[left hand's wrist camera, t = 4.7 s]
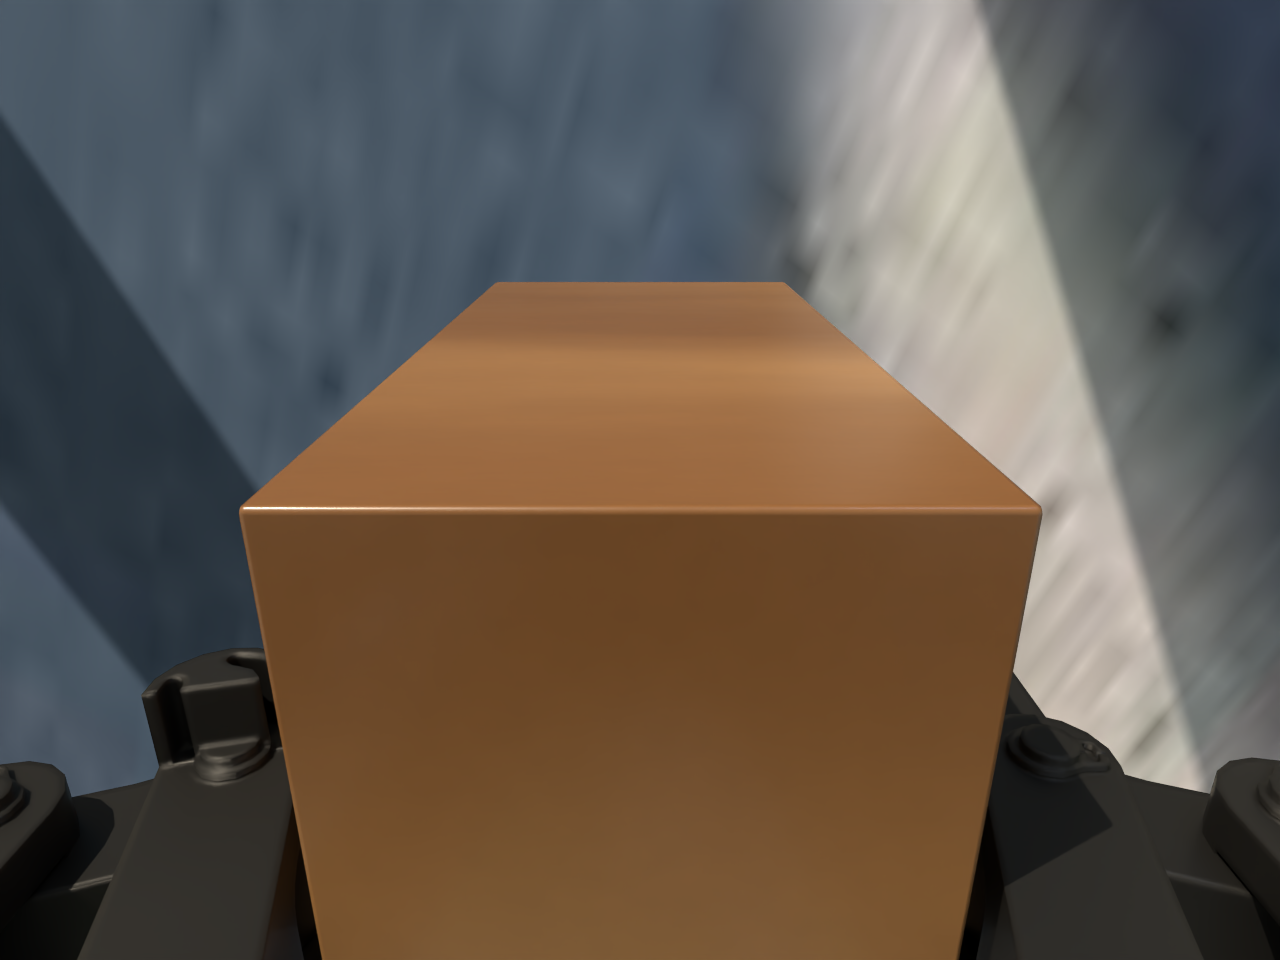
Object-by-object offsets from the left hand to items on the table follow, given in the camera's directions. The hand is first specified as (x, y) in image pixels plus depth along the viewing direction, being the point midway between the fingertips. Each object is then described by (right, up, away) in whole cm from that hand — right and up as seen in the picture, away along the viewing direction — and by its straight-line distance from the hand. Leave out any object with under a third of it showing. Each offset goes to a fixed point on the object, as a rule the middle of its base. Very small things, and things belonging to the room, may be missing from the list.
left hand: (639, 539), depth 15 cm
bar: (0, -6, +3) cm, 7 cm away
